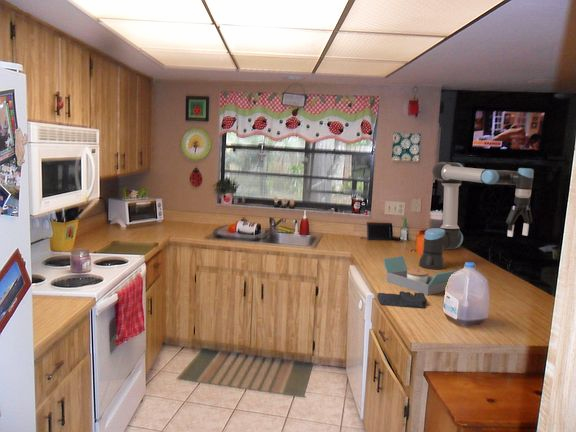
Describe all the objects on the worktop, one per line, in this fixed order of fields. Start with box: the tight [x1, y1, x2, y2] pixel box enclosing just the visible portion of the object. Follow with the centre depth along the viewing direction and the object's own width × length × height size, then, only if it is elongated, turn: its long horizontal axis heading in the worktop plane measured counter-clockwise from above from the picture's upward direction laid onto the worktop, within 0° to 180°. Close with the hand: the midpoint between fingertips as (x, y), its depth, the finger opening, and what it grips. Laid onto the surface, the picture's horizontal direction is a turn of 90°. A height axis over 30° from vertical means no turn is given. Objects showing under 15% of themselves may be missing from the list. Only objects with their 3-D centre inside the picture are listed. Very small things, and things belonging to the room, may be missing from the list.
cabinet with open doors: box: [382, 255, 457, 296], centre depth 242 cm, size 34×16×12 cm, turn 37°
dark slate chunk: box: [376, 290, 428, 310], centre depth 215 cm, size 15×22×5 cm
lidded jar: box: [407, 268, 429, 284], centre depth 242 cm, size 11×11×9 cm
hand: (517, 235), depth 254 cm, fingers open, 13 cm apart
